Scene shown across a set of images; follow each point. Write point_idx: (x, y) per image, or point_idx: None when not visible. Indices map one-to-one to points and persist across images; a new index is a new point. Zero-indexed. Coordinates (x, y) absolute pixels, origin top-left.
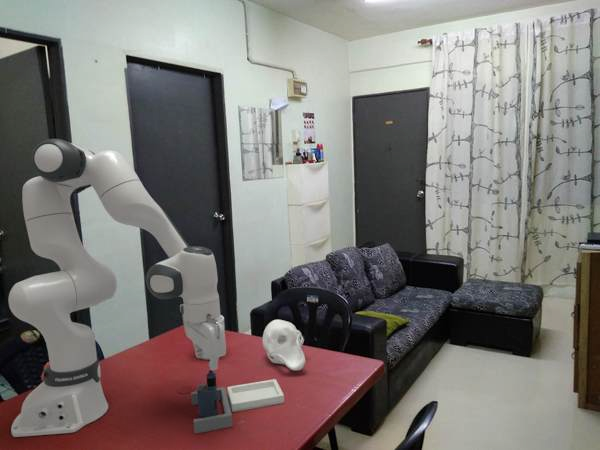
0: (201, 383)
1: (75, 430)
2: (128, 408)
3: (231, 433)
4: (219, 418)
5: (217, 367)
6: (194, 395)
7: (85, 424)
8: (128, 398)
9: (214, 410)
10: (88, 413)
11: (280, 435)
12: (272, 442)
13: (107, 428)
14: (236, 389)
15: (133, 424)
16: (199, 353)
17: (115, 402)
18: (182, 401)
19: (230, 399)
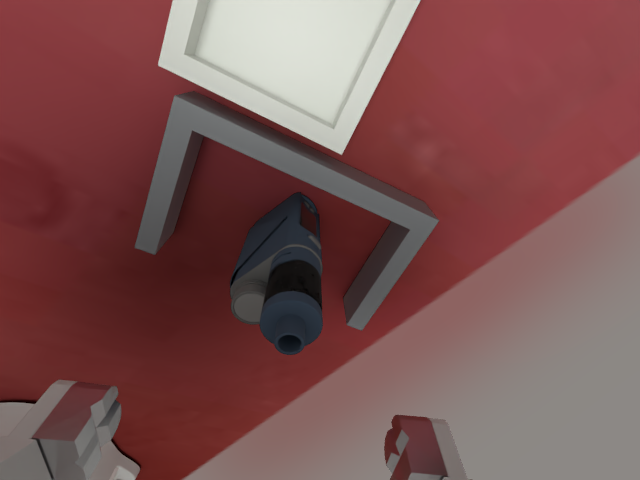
0: (235, 305)
1: (137, 468)
2: (78, 371)
3: (452, 225)
4: (409, 259)
5: (449, 429)
6: (161, 240)
7: (118, 452)
8: (2, 354)
9: (319, 226)
10: (96, 470)
11: (632, 100)
12: (624, 153)
13: (165, 425)
14: (197, 24)
15: (185, 386)
16: (93, 451)
17: (15, 383)
18: (123, 245)
19: (294, 131)
